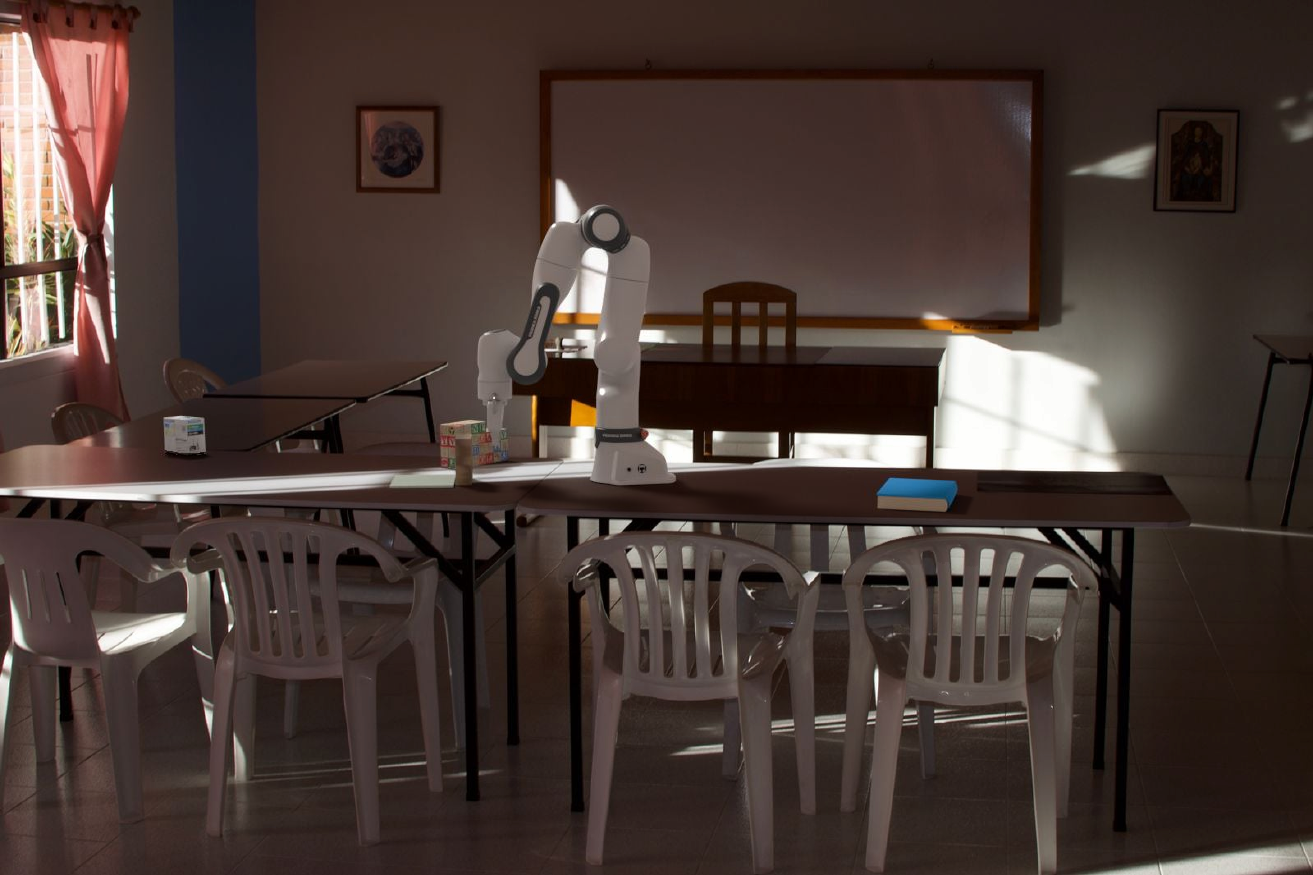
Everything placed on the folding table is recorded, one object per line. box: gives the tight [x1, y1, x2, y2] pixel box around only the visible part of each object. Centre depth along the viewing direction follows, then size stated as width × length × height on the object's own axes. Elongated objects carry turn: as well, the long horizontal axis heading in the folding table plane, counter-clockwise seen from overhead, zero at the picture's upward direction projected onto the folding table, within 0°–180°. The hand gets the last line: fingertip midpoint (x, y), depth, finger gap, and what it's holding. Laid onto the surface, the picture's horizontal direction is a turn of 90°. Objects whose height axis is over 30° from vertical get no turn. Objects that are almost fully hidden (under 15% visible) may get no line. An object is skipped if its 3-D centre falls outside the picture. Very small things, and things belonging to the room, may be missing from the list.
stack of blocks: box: [439, 419, 509, 469], centre depth 413 cm, size 21×6×12 cm, turn 144°
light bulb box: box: [163, 415, 207, 453], centre depth 432 cm, size 11×7×11 cm, turn 58°
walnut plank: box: [455, 434, 474, 486], centre depth 381 cm, size 4×10×12 cm, turn 5°
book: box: [876, 477, 958, 513], centre depth 355 cm, size 17×4×25 cm
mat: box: [389, 473, 456, 489], centre depth 381 cm, size 16×18×1 cm
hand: (495, 444), depth 381 cm, fingers closed
